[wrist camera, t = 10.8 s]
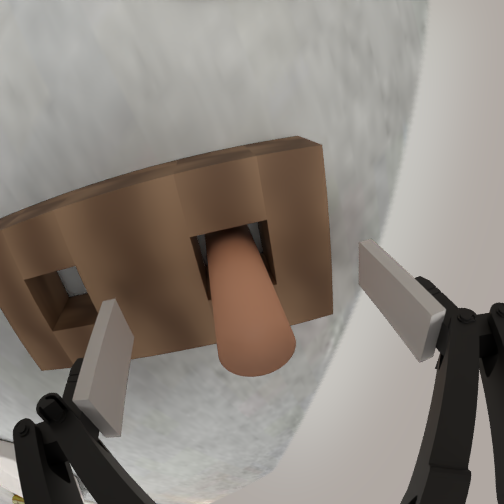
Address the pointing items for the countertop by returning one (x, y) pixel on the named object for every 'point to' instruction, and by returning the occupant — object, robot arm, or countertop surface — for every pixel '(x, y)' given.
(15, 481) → the pan
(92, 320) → the hole block
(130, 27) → the countertop surface
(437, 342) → the robot arm
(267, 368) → the peg
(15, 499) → the decorated donut
